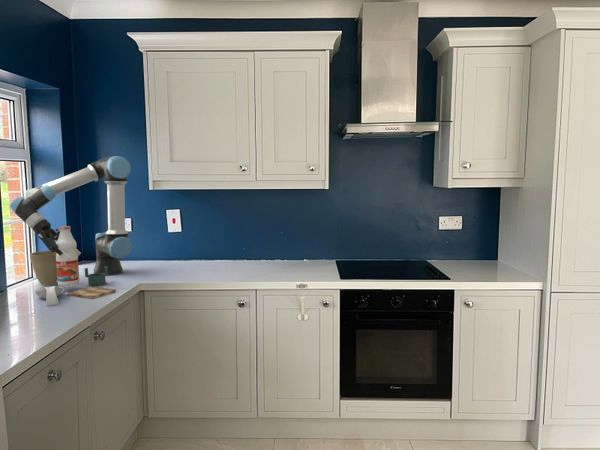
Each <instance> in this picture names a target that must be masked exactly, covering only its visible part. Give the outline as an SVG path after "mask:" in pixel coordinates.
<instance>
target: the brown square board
mask: <svg viewBox="0 0 600 450" xmlns="http://www.w3.org/2000/svg"><path fill="white" fill-rule="evenodd" d="M116 292H117V289H116V288H114V289H113V288H108V287H101V286H96V287H91V286H88V287H86V288H82V289H78V290H74V291H71V292H68V293H67V296H68V297H76V298H83V299H89V300H94V299H97V298H101V297H103V296H106V295H110V294H114V293H116Z"/></svg>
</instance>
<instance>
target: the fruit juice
mask: <svg viewBox="0 0 600 450" xmlns="http://www.w3.org/2000/svg"><path fill="white" fill-rule="evenodd" d="M71 229H72V227H71V226H70V225H63V226H62V225H61V226H59V227H58V230H59V231H60V234H59V238H58V240H56V241H55V243H56V244H57V246H58V248H59V247H60V248H61V249H62V250H63V251H64V252H65V253H66V254H67V255H69V256H70V257H69V259H68V260H67V261H65V260H64V259H63V258H62V257H61V256H59V255H58V254H56V265H57V279H58V280H57V285H58V287H64V288H65V287H73V286H77V285H79V284H80V272H79V271H80V269H79V256H78V255H77V252H76V249H77V245H78V244H77V242H76V239H74V236H73V234H72V232H71Z"/></svg>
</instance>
